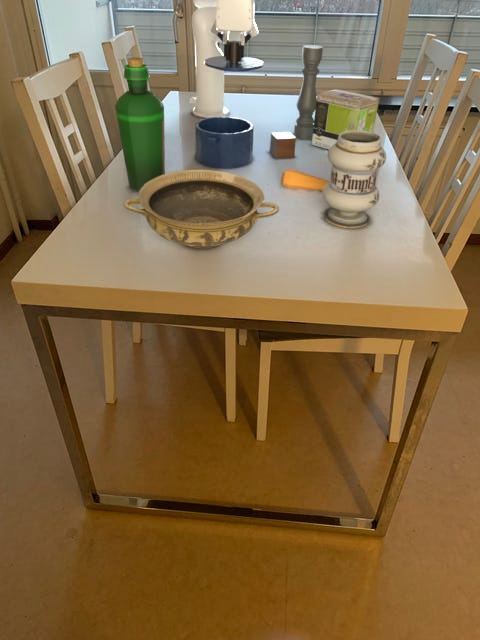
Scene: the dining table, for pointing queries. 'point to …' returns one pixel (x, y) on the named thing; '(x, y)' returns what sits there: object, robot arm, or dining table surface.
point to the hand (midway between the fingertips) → (234, 59)
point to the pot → (224, 142)
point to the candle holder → (308, 92)
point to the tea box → (342, 115)
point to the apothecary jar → (353, 178)
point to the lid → (233, 61)
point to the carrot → (302, 180)
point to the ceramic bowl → (201, 206)
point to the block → (282, 145)
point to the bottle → (141, 126)
